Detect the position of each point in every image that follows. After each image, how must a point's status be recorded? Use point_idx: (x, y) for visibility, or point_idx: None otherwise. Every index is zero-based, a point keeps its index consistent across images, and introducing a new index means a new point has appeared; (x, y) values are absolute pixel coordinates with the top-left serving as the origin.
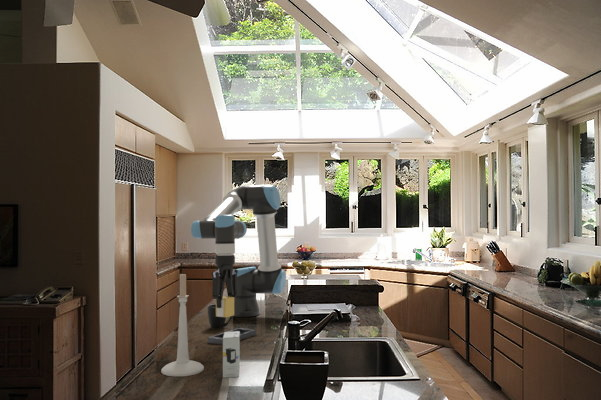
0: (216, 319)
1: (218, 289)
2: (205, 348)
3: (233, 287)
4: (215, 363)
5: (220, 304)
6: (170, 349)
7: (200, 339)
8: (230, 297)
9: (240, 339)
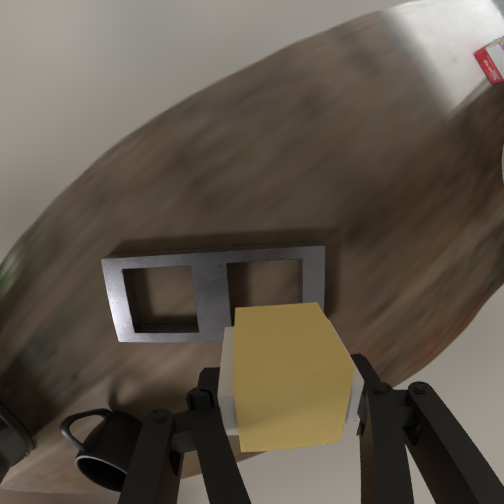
0: (135, 439)
1: (447, 428)
2: (385, 272)
3: (169, 472)
4: (479, 130)
5: (359, 367)
6: (423, 347)
7: None
8: (269, 389)
9: (216, 247)
